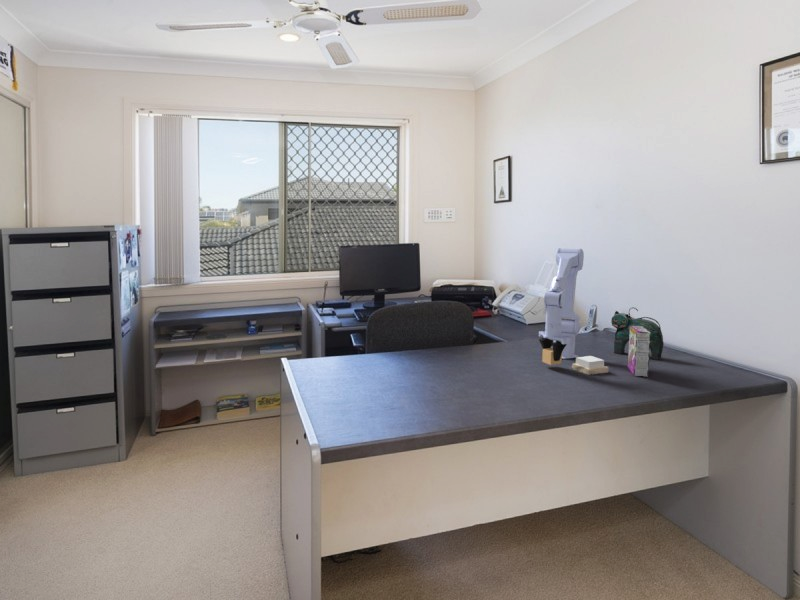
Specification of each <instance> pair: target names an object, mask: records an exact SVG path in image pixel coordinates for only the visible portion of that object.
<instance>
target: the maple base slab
mask: <svg viewBox="0 0 800 600" xmlns="http://www.w3.org/2000/svg"><path fill="white" fill-rule="evenodd" d="M572 368H573V369H572ZM571 369H572V370H575V371H577V370H578V371H577V372H580V373H582V372H583V373H582V374H585V375H588V376H591V374H592V375H597V374H598V373H599V374H605V373H609V366H606V365H604V367H599V368H591V369H588V368H585V367H583V366H580V365H577V364H576V362H575V363H572V364H571Z"/></svg>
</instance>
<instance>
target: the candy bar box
mask: <svg viewBox="0 0 800 600" xmlns="http://www.w3.org/2000/svg"><path fill="white" fill-rule="evenodd" d="M650 334H651V333H650V332H649V331H648V330H647V329H646V328H644V327H643V326H630V332H629V341H628V354H627V369H628V370H629V372H630V373H631V374H632V375H633V376H634V377H637V376H643V377H646V378H648V377H649V366H650V364H649V363H650V352H651V350H650ZM643 377H642V378H643Z"/></svg>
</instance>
